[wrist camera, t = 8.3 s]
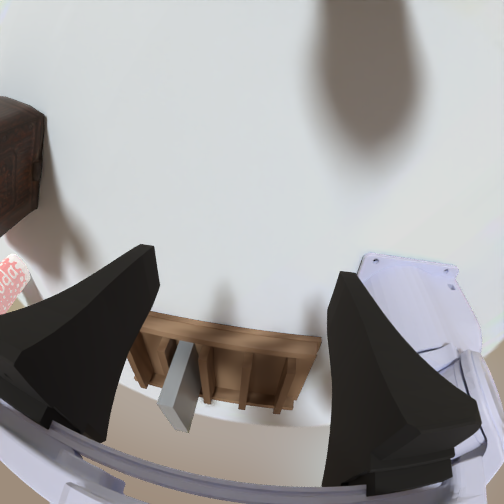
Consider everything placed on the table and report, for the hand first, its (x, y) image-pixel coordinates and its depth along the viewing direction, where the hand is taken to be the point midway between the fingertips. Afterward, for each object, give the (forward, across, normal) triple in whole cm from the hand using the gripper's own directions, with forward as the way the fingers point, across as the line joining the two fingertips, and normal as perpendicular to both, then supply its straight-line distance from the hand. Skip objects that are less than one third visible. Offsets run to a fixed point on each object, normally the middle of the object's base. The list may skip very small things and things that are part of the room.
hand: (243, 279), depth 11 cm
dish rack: (+10, +4, +21) cm, 24 cm away
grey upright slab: (+9, +6, +21) cm, 24 cm away
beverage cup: (+10, +31, +13) cm, 35 cm away
